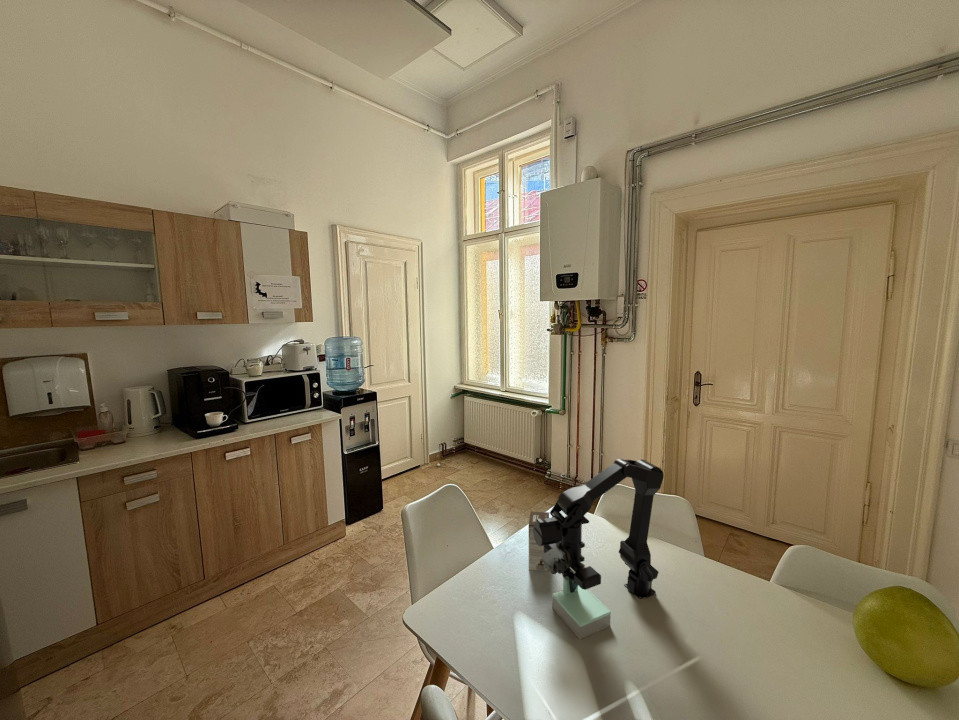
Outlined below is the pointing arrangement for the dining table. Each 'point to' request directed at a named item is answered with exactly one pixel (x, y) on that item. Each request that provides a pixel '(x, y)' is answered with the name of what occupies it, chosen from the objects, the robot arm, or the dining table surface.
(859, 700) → the dining table surface
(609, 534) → the dining table surface
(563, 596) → the lid
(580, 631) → the tub
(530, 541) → the coffee box
